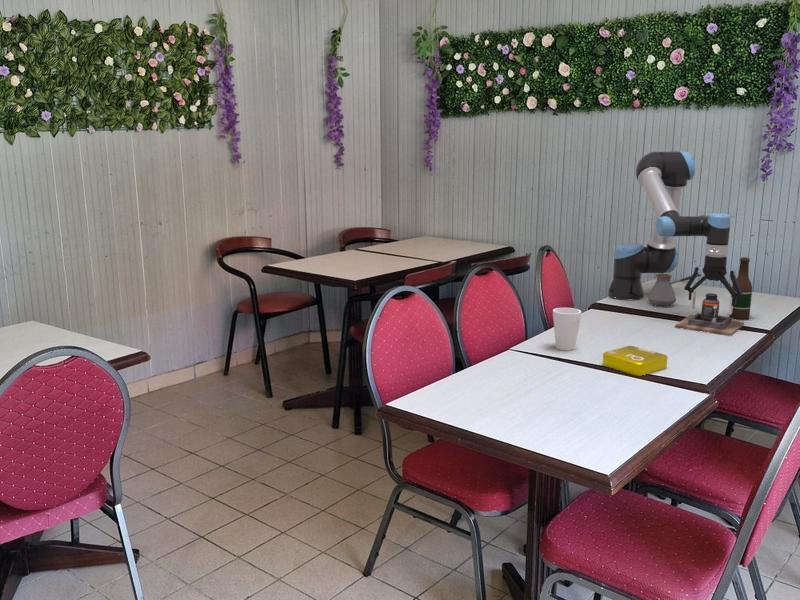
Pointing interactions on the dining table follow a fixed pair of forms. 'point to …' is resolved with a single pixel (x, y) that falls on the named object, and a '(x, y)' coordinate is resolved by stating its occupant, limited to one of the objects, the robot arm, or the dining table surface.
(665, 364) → the element tile
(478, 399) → the dining table surface
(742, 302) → the beer bottle
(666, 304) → the coffee pot
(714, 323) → the holder board
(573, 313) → the foam cup
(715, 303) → the supplement bottle
